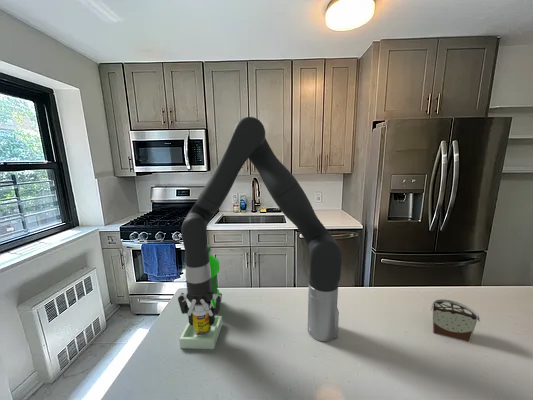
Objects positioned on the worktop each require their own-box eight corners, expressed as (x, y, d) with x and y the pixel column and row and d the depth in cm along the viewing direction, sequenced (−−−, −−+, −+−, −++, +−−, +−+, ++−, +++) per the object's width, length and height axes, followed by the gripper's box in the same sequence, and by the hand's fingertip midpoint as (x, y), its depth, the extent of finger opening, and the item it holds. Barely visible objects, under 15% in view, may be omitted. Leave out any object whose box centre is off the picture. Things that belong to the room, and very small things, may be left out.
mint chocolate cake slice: (468, 330, 76) (472, 303, 74) (475, 344, 70) (480, 315, 69) (424, 320, 81) (427, 294, 79) (427, 332, 75) (431, 305, 74)
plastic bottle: (211, 295, 97) (207, 239, 93) (226, 305, 90) (224, 246, 86) (189, 307, 90) (185, 246, 85) (205, 319, 83) (200, 254, 78)
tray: (222, 324, 80) (221, 315, 79) (214, 349, 70) (213, 339, 69) (192, 323, 80) (191, 315, 80) (180, 348, 70) (179, 338, 69)
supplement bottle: (196, 339, 71) (194, 310, 69) (191, 329, 75) (189, 301, 74) (213, 332, 74) (212, 303, 72) (208, 322, 79) (206, 295, 77)
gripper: (224, 270, 75) (226, 316, 78) (181, 270, 75) (185, 315, 78) (218, 282, 67) (221, 332, 70) (170, 282, 68) (175, 332, 71)
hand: (202, 323), depth 74 cm, fingers closed on supplement bottle, 5 cm apart
